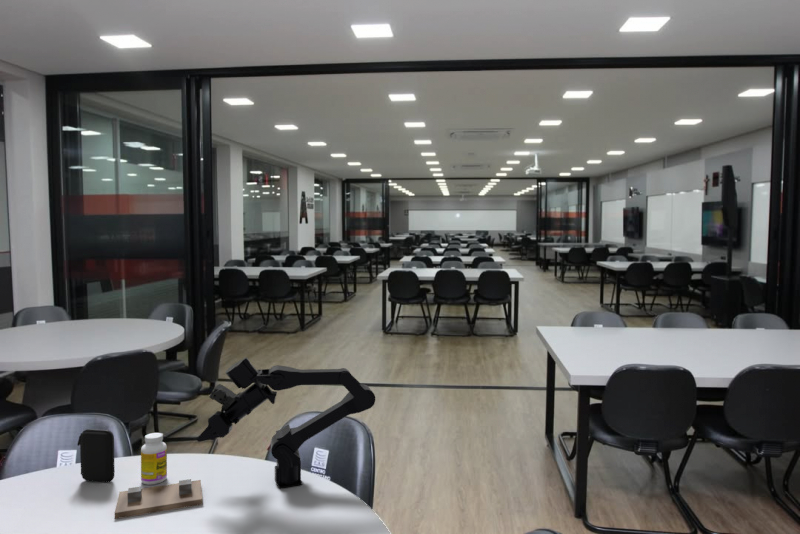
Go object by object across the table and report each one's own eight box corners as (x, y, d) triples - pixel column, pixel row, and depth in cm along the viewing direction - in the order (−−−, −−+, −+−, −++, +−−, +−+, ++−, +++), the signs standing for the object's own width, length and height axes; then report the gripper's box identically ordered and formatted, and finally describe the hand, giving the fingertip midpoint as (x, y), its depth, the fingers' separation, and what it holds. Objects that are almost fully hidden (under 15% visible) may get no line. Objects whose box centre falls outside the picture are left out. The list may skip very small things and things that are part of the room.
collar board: (200, 485, 150) (200, 471, 150) (202, 504, 139) (202, 489, 139) (119, 497, 143) (119, 482, 142) (114, 519, 132) (114, 502, 131)
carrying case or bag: (74, 482, 151) (73, 430, 151) (82, 477, 154) (81, 426, 154) (110, 485, 150) (109, 432, 149) (117, 480, 153) (116, 428, 152)
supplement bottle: (157, 486, 149) (156, 440, 149) (135, 484, 150) (135, 438, 150) (172, 476, 156) (171, 432, 155) (151, 474, 157) (151, 430, 156)
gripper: (239, 369, 158) (196, 402, 158) (221, 384, 139) (172, 421, 139) (262, 400, 158) (219, 432, 158) (248, 418, 140) (199, 455, 139)
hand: (203, 434), depth 149 cm, fingers open, 9 cm apart
